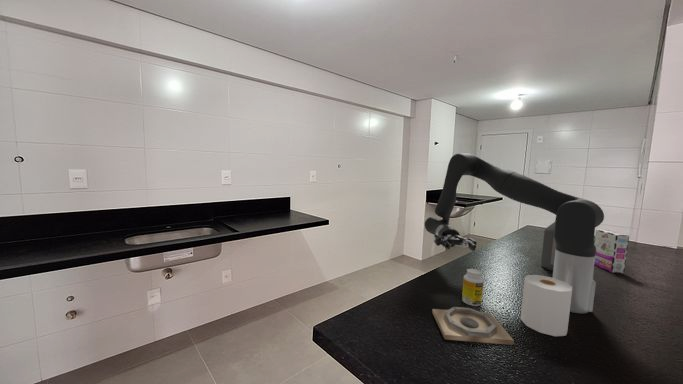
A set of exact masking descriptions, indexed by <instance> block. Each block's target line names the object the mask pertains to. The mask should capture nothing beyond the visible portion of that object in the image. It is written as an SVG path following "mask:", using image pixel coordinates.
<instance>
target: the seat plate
mask: <svg viewBox="0 0 683 384" xmlns="http://www.w3.org/2000/svg"><path fill="white" fill-rule="evenodd" d="M431 310H432V311H431V312H432V315H433V317H434V319H435V322H436V324H437V327H438V328H439V331H440V332H441V336H442V337H443V338H444V340H448V341H459V342H460V341H461V342H471V343H472V342H473V343H483V344H485V343H486V344H497V345H508V346H509V345H510V346H514V343H515V342H514V341H515V340H514V339H513V338H512V336H511V335H510V334H509V333H508V332H507V331H506V329H505V327H503V326H502V325H501V324H500V322H499V321H498V320H497V319H496V318H495V317H494V315H493V314H492V312H484V311H483V312H482V311H479V310H476V309H474V308H471V307H462V306H461V307H460V306H452V307H450V308H449V309H440V308H432V309H431Z"/></svg>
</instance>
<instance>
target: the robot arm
mask: <svg viewBox="0 0 683 384" xmlns="http://www.w3.org/2000/svg"><path fill="white" fill-rule="evenodd" d="M448 161H449V162H448V166H447V169H446V173H445V178H444V183H443V186H442V190H441V193H440V196H439V198H438V202H437V203H436V205H435V208H434V213H435V215H436V216H438V217H440V218H437V217H433V216H429V217H427V218H426V220H425V221H424V228H425V230H426V232H428V233H429V234H432V235H433V242H434V244H435V245H436V246H438V247H440V245H441V247H443V248H446V250H450V248H454V247H460V248H468V249H469V250H470V251H472V252H475V251H476V248H477V244H478V243H477V242H478V240H476V239H474V238H472V237H470V236H467V237H464V236H461V235H460V232H459V231H458V230H456V229H455V228H454V227H453V226H451V225H450V217H451V215H452V212H453V210H454V208H455V205H456V203H457V187H458V184H459V183H460V180H461V179H462V177H463V176H471V177H473V178H477V179H479V180H481V181H484V182H485V183H487V185H489V186H490V187H491V188H492V189H493V190H494V191H495V192H497V193H499V195H502V196H504V197H506V198H508V199H511V200H512V201H514V202H518V203H521V204H525V205H528V206H532V207H535V208H539V209H542V210H545V211H548V212H550V213H552V214H554V215H555V220H554V222H555V236H554V238H555V242H556V251H555V260H554V269H553V271H552V278H554V279H557V280H560V281H563V282H565V283H567V284H569V285H570V286H572V287H573V288H572V296H571V305H570V312H571V313H575V314H588V313H592V312H593V310H594V309H593V308H594V301H595V300H594V299H595V293H596V285H597V283H596V281H595V280H594V271H595V265H594V264H595V256H596V246H595V245H594V243H595V234H596V228H597V227H599V226H600V225H601V224H602V223H603V222H604V219H605V213H604V211H603V209H602V208H601V206H599V205H598V204H597V203H595V202H594V201H591V200H588V199H584V198H581V197H578V196H574V195H571V194H567V193H564V192H562V191H559V190H557V189H555V188H552V187H550V186H548V185H546V184H544V183H541V182H540V181H537V180H535V179H532V178H530V177H529V176H526V175H523V174H521V173H518V172H516V171H513V170H510V169H507V168H505V167H501V166H498V165H494V164H492V163H490V162H489V161H486V160H485V159H483V158H480V157H479V156H478V155H475V154H472V153H466V152H463V153H462V152H461V153H460V152H459V153H455V154H454V155H452V156H451V158H450V159H449V160H448Z"/></svg>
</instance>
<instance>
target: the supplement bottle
mask: <svg viewBox="0 0 683 384" xmlns="http://www.w3.org/2000/svg"><path fill="white" fill-rule="evenodd" d="M462 281H463V283H462V293H461V295H462V296H461V301H462V302H463V303H465V304H466V305H469V306H472V307H479V306H481V305H482V301H483V300H482V299H483V292H484V291H483V290H484V279H483V277H482V271H481V270H479V269H475V268H468V269H466V274H464V275H463V280H462Z"/></svg>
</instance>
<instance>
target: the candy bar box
mask: <svg viewBox="0 0 683 384" xmlns="http://www.w3.org/2000/svg"><path fill="white" fill-rule="evenodd" d="M629 241H630V235H628V234H623V233H620V232H616V231H611V230H608V229H596V228H595V234H594V245H595V246H596V256H595V264H594V266H596V267H598V268H600V269H603V270H605V271H608V272H610V273H612V274H613V273H614V274H625V269H626V262H627V255H628V247H629Z"/></svg>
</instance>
